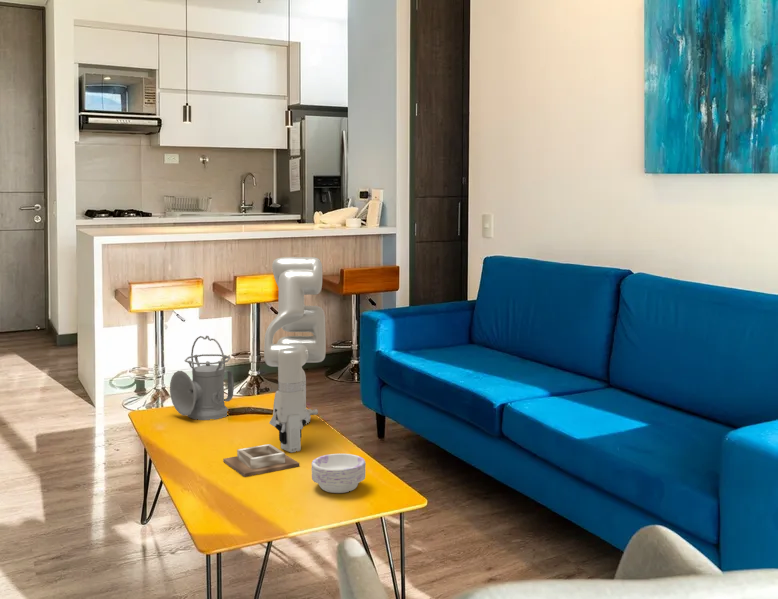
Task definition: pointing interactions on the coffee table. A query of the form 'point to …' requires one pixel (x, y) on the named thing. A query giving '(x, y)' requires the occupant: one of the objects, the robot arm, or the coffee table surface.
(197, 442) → the coffee table surface
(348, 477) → the paper bowls
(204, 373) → the lantern
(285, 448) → the skincare box
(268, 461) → the socket board
